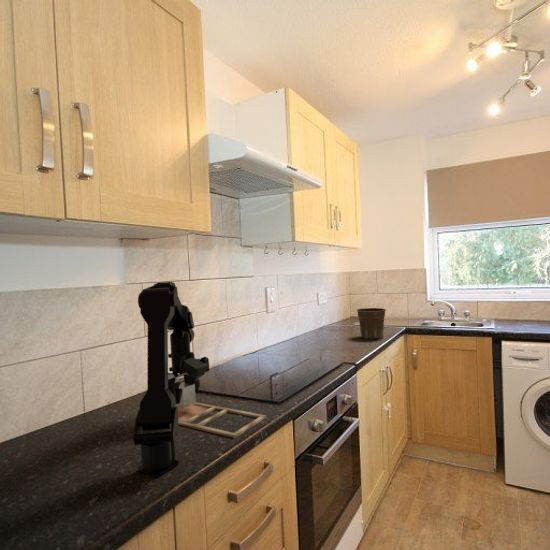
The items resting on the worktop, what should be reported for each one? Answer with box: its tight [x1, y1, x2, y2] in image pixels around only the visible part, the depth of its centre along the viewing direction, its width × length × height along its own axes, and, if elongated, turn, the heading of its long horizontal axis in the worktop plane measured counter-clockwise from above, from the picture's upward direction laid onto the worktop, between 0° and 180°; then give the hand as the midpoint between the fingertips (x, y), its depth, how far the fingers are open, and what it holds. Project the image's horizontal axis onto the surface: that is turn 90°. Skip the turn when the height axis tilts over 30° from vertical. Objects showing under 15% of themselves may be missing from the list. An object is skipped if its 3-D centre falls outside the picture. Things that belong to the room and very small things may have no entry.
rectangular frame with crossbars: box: [178, 401, 267, 439], centre depth 111 cm, size 14×32×1 cm, turn 58°
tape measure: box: [180, 378, 201, 391], centre depth 138 cm, size 7×7×4 cm
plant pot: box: [356, 307, 387, 340], centre depth 217 cm, size 16×16×16 cm
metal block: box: [176, 381, 197, 409], centre depth 115 cm, size 5×5×6 cm
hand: (183, 401), depth 115 cm, fingers closed on metal block, 5 cm apart
